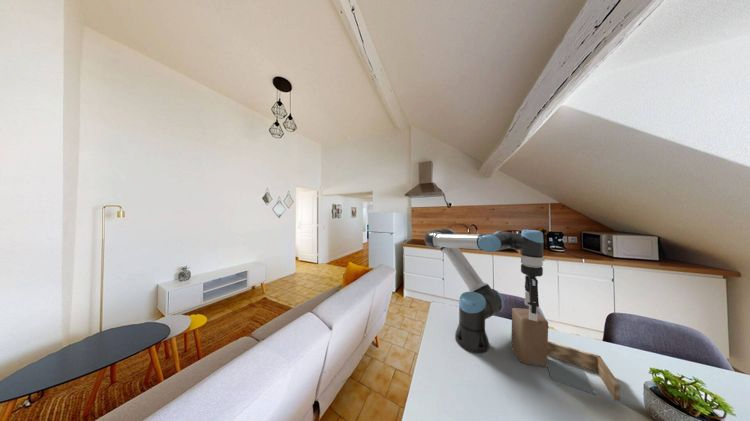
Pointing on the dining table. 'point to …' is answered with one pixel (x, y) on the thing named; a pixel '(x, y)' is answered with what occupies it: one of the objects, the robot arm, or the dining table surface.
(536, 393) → the dining table surface
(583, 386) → the mat
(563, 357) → the wooden angle piece
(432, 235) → the robot arm
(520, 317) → the wooden block
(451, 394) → the dining table surface
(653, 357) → the dining table surface
